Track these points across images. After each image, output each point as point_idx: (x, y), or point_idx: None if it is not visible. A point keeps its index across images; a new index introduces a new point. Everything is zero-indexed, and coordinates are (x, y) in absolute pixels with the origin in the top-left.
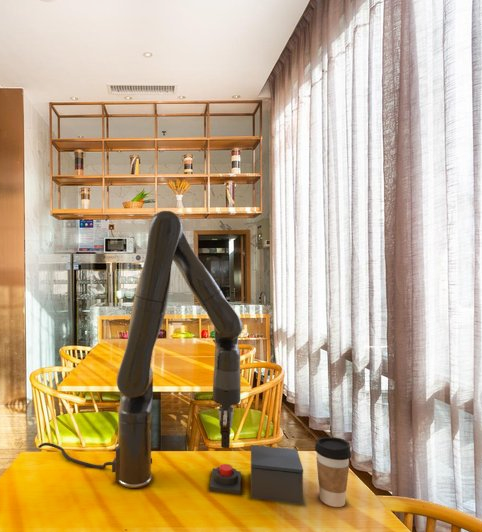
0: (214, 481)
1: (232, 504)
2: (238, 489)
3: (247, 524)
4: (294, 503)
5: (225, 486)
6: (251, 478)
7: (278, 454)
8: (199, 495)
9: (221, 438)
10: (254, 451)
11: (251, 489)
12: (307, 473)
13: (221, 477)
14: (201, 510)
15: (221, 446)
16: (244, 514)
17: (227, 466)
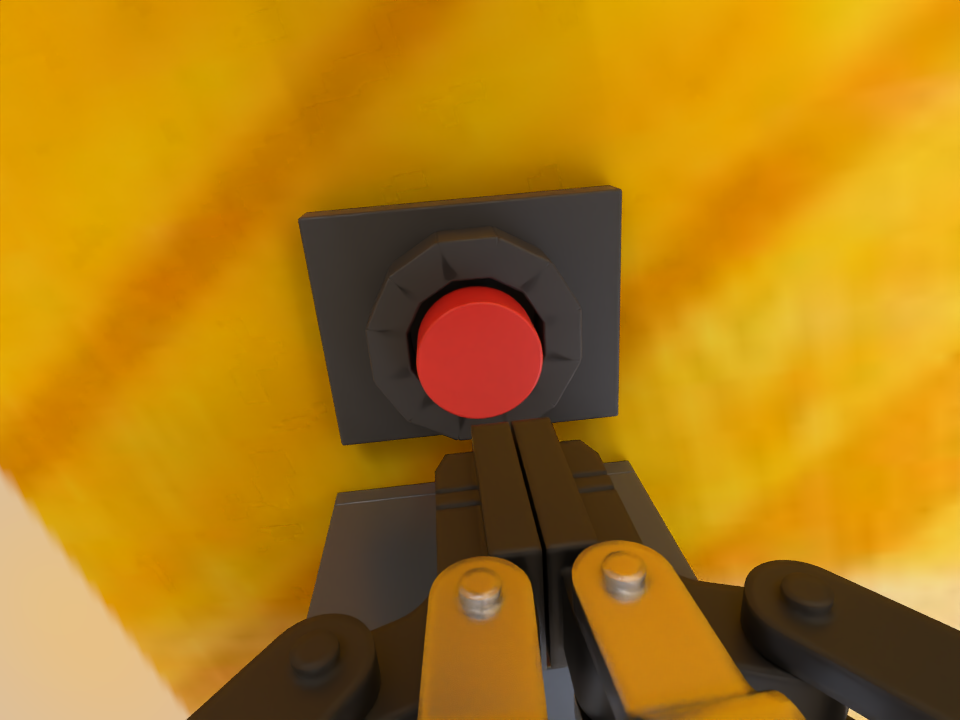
0: (394, 244)
1: (211, 397)
2: (348, 433)
3: (46, 503)
4: None
5: (352, 341)
6: (314, 591)
7: None
8: (207, 138)
9: (481, 500)
10: (572, 689)
11: (328, 532)
12: None
13: (369, 324)
14: (11, 198)
15: (471, 428)
16: (139, 477)
17: (498, 373)
